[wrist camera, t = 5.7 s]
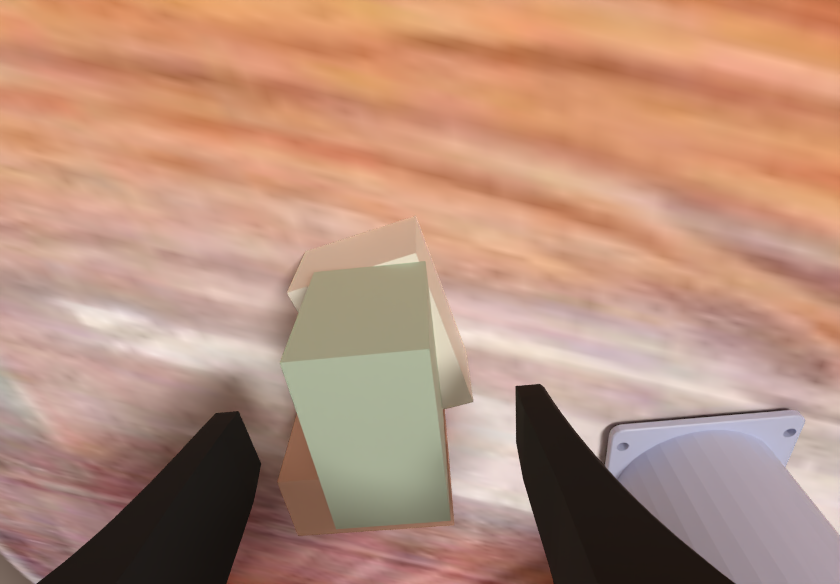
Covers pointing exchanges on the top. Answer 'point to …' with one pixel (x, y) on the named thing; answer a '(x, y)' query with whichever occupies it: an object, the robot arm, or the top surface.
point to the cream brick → (386, 249)
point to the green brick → (371, 395)
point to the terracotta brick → (309, 497)
